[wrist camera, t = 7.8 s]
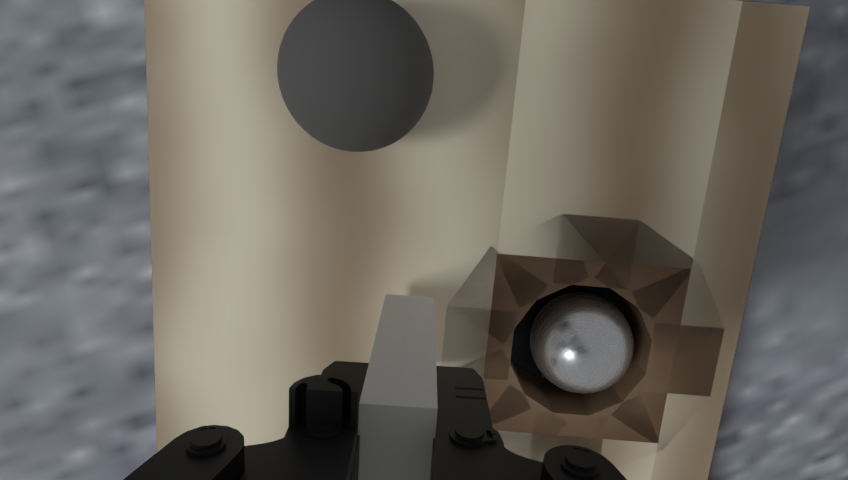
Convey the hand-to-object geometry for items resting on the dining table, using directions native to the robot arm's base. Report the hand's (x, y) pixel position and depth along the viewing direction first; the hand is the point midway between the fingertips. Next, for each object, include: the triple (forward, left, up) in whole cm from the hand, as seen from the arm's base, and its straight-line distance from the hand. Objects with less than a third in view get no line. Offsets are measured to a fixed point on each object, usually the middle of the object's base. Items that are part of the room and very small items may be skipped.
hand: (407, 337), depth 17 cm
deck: (0, +1, -3) cm, 4 cm away
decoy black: (-8, -2, +1) cm, 8 cm away
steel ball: (0, +6, -2) cm, 6 cm away
